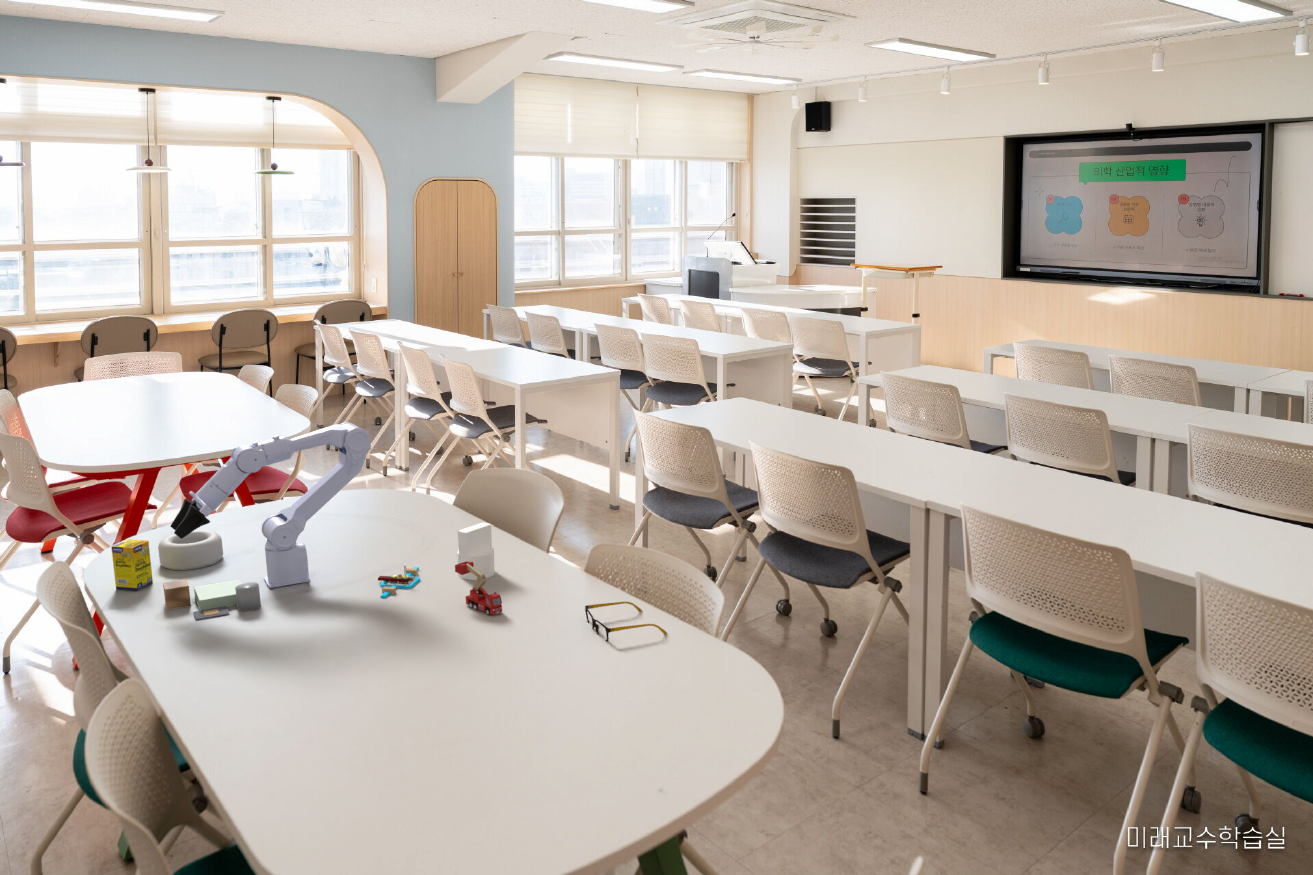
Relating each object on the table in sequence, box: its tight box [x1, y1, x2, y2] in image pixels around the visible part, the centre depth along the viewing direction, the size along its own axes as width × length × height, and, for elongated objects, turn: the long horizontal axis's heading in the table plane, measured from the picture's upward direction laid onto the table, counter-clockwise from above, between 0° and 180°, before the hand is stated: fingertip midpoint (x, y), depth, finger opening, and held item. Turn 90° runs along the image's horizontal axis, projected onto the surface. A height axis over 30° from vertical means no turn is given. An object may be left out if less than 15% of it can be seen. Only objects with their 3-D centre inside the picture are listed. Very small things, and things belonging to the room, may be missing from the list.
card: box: [192, 606, 230, 621], centre depth 233 cm, size 7×5×1 cm
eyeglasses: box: [584, 601, 668, 642], centre depth 225 cm, size 14×14×4 cm
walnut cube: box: [162, 579, 192, 611], centre depth 238 cm, size 5×5×5 cm
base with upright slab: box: [456, 521, 496, 581], centre depth 257 cm, size 9×9×12 cm
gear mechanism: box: [377, 564, 421, 599], centre depth 252 cm, size 20×5×9 cm
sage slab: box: [193, 579, 242, 611], centre depth 241 cm, size 10×10×3 cm
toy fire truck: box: [454, 561, 503, 616], centre depth 236 cm, size 3×14×10 cm, turn 47°
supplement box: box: [110, 538, 154, 592], centre depth 249 cm, size 6×6×11 cm
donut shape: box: [157, 529, 224, 571], centre depth 267 cm, size 15×15×7 cm
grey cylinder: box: [235, 582, 262, 612], centre depth 237 cm, size 5×5×5 cm
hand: (175, 532), depth 238 cm, fingers open, 7 cm apart
